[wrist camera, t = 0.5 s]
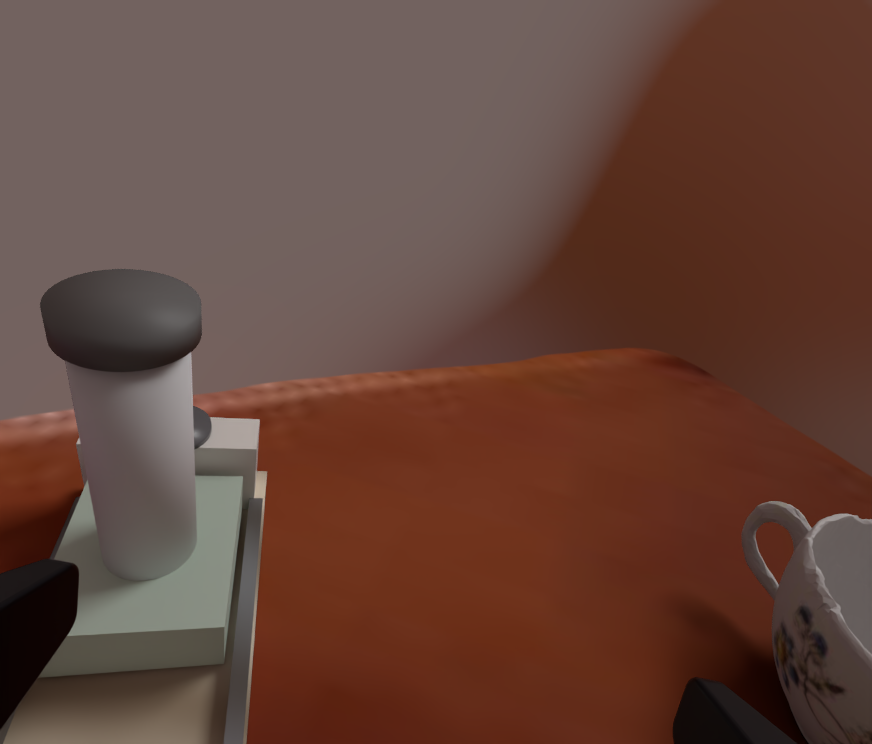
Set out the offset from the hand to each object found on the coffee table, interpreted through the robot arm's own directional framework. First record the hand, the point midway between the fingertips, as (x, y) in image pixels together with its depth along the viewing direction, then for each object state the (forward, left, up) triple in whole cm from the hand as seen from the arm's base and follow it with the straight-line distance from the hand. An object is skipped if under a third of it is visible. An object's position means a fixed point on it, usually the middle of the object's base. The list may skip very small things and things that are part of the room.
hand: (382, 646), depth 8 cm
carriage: (+6, +10, -14) cm, 18 cm away
